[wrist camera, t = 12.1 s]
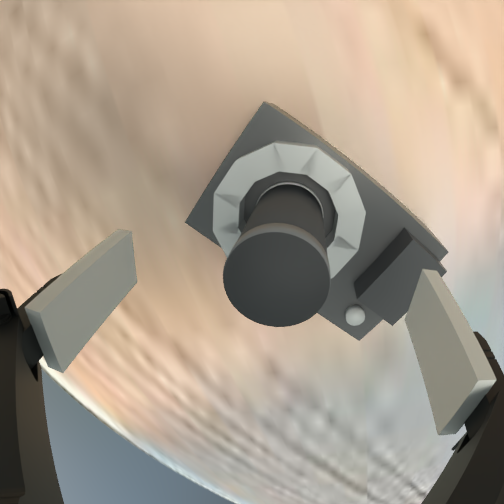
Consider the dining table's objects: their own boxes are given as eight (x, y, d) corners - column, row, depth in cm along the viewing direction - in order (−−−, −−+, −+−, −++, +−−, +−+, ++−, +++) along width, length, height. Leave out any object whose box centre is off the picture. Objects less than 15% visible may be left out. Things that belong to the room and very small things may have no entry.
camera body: (207, 201, 30) (173, 233, 23) (273, 103, 26) (258, 100, 18) (353, 304, 32) (361, 358, 25) (426, 225, 28) (459, 265, 20)
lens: (257, 177, 23) (223, 226, 14) (327, 185, 22) (339, 240, 13) (253, 240, 25) (221, 319, 16) (318, 248, 24) (320, 333, 15)
